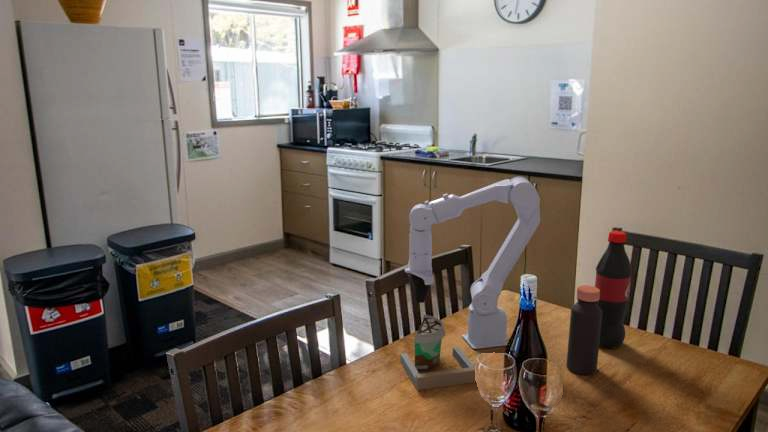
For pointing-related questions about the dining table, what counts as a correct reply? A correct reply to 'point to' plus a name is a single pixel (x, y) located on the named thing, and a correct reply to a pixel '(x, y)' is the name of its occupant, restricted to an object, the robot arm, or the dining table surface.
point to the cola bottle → (613, 290)
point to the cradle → (441, 373)
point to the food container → (428, 344)
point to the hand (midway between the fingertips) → (419, 301)
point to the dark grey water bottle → (584, 331)
